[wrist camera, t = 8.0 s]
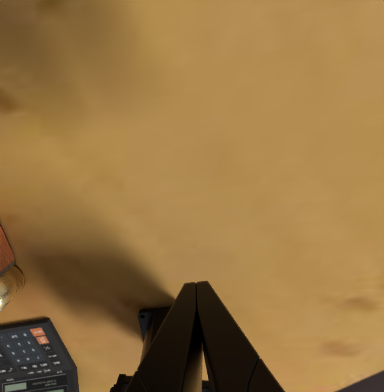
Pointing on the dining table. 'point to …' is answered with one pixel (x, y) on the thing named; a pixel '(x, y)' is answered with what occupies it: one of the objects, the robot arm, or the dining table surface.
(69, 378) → the calculator
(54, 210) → the dining table surface
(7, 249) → the arm
